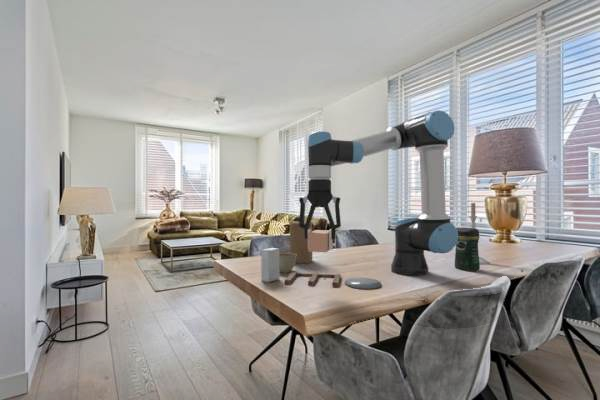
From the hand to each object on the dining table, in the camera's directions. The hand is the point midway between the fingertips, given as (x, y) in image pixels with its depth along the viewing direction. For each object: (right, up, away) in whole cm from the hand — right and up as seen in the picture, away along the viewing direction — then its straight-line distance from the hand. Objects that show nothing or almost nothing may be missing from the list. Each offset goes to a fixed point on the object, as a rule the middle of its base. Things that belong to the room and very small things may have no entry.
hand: (320, 248), depth 100 cm
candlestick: (+81, -15, +52) cm, 97 cm away
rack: (-1, -15, +16) cm, 22 cm away
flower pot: (-13, -15, +32) cm, 38 cm away
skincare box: (-18, -15, +17) cm, 29 cm away
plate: (+16, -15, +11) cm, 25 cm away
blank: (0, 0, +1) cm, 1 cm away
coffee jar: (+68, -15, +35) cm, 78 cm away
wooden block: (-6, -15, +52) cm, 55 cm away
